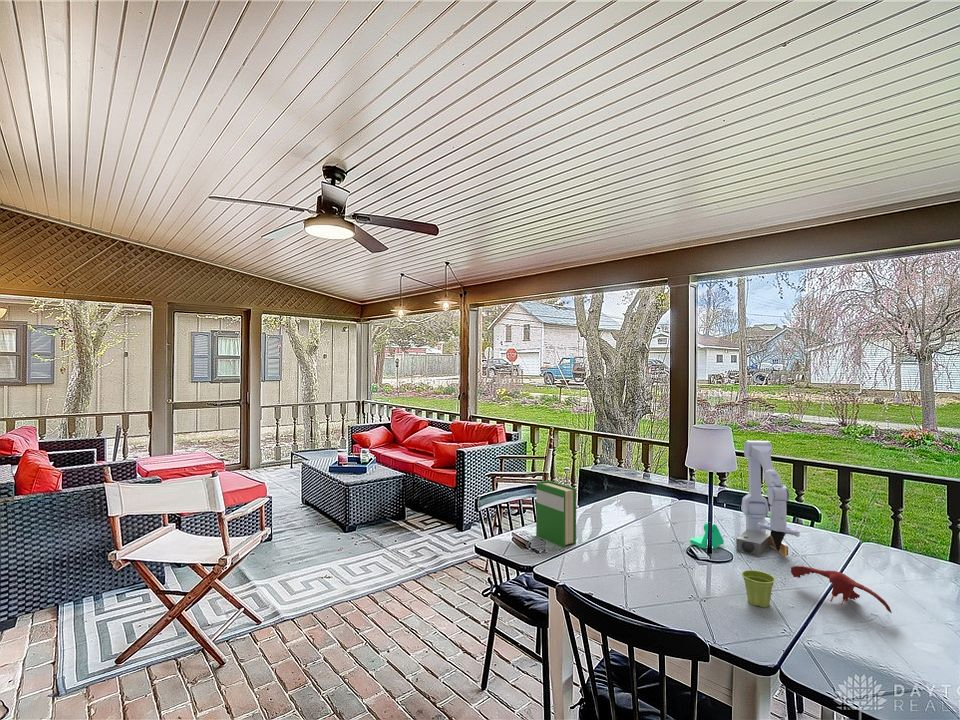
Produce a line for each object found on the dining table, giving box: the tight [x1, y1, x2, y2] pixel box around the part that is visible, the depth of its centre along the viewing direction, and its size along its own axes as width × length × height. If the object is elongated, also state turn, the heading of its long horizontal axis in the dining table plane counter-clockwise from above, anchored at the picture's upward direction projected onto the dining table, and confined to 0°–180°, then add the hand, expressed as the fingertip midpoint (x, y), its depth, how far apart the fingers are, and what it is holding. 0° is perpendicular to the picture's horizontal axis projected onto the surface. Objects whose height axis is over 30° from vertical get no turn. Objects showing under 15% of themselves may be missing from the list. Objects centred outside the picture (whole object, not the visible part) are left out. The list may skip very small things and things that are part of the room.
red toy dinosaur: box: [790, 565, 893, 614], centre depth 155 cm, size 28×9×15 cm
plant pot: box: [741, 569, 776, 608], centre depth 154 cm, size 9×9×9 cm
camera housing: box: [735, 529, 772, 557], centre depth 202 cm, size 17×9×6 cm, turn 135°
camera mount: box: [689, 521, 725, 549], centre depth 205 cm, size 12×8×10 cm, turn 115°
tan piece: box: [771, 536, 789, 558], centre depth 198 cm, size 13×2×4 cm, turn 171°
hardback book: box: [535, 479, 577, 549], centre depth 211 cm, size 18×7×24 cm, turn 34°
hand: (778, 549), depth 194 cm, fingers closed
